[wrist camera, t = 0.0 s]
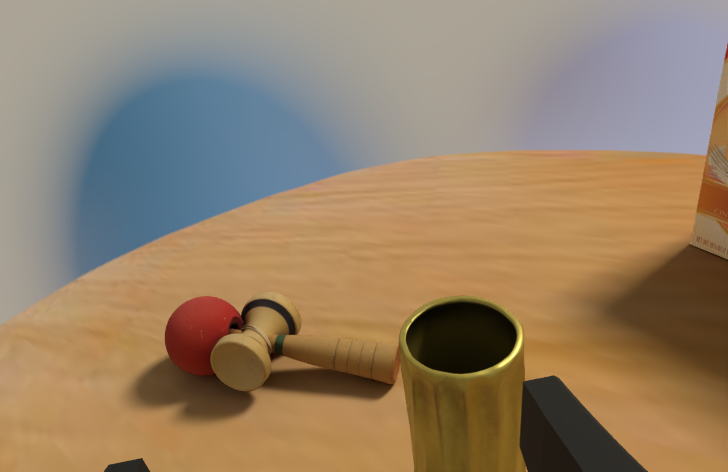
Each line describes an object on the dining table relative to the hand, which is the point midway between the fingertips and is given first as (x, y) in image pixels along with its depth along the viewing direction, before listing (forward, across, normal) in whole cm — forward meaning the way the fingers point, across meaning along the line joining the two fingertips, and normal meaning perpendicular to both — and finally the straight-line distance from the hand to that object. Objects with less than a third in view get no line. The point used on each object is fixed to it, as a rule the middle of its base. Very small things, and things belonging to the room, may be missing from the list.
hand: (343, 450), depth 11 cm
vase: (+9, -5, +23) cm, 25 cm away
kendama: (+25, +5, +24) cm, 35 cm away
